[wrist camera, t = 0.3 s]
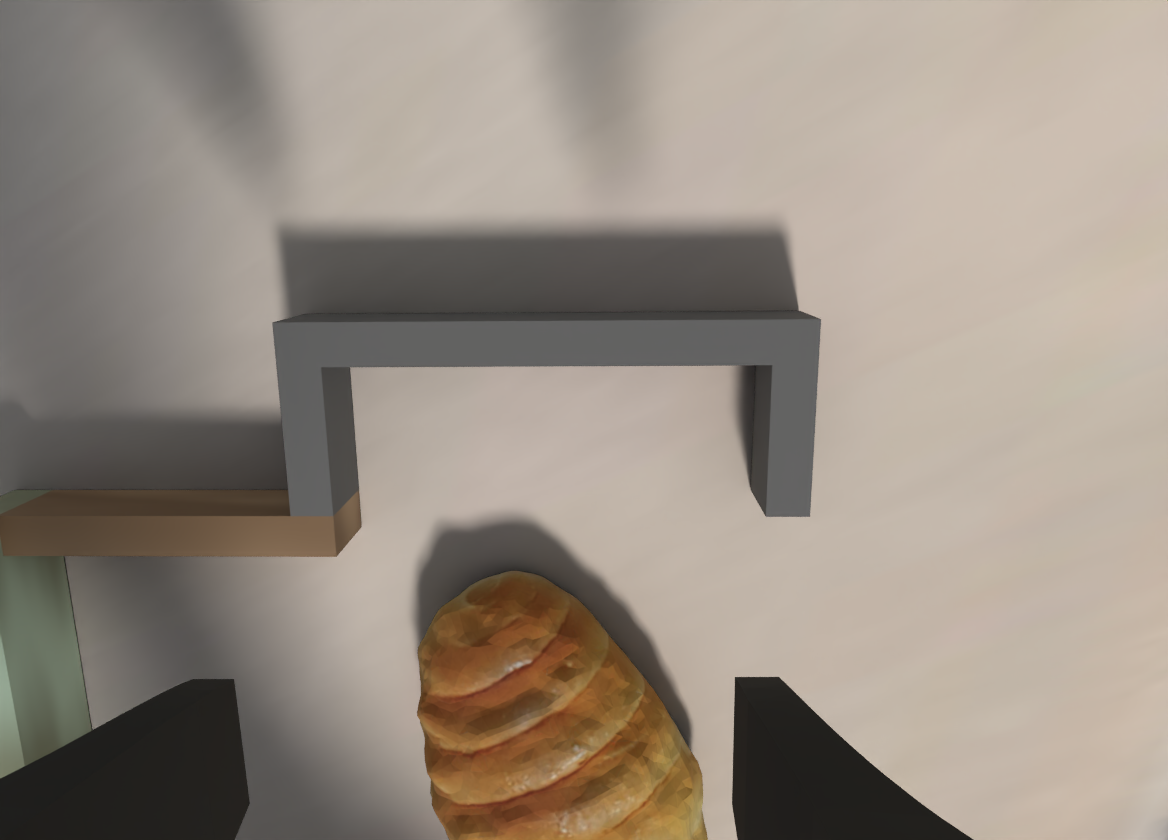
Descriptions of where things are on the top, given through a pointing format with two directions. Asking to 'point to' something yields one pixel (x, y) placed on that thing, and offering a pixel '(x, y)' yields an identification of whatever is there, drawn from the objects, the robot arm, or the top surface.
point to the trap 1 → (339, 341)
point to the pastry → (546, 724)
